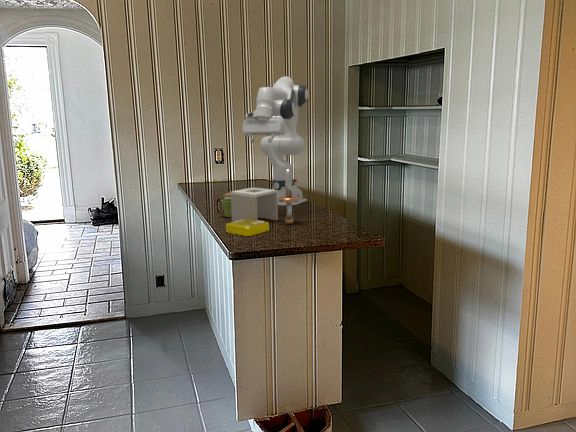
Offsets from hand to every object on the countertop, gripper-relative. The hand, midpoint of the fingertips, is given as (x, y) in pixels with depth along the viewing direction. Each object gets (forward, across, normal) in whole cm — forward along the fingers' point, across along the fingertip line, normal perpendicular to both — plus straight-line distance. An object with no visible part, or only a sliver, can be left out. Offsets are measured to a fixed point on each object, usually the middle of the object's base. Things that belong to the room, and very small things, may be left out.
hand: (260, 142), depth 256 cm
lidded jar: (+22, +25, -39) cm, 51 cm away
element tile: (+48, -1, +9) cm, 48 cm away
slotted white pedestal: (+37, +2, -10) cm, 39 cm away
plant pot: (+34, +18, -18) cm, 42 cm away
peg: (+38, -16, -9) cm, 42 cm away
